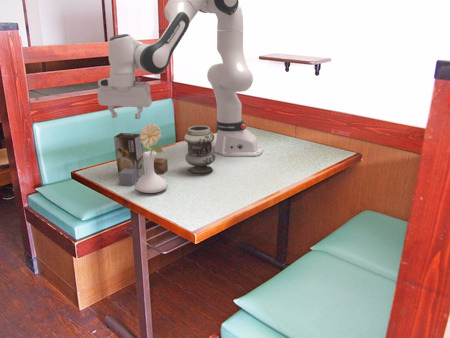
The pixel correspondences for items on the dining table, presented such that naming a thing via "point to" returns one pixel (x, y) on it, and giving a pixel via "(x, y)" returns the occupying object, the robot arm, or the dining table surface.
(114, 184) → the dining table surface
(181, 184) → the dining table surface
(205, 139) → the apothecary jar
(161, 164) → the walnut block
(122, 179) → the slate grey block
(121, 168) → the coffee box
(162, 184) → the flower in vase
